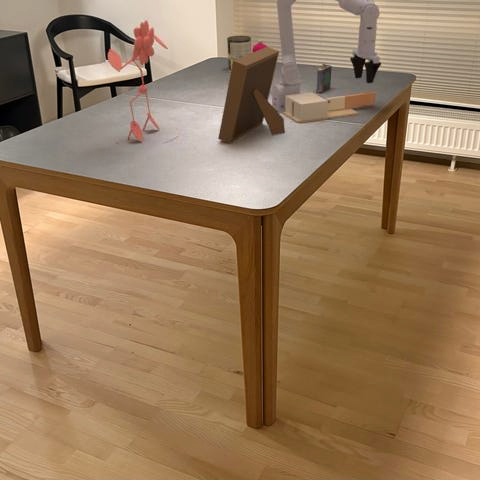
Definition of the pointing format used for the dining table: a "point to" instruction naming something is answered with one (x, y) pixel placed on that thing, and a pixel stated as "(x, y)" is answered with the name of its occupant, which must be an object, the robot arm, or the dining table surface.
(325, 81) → the flask
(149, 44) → the pink stick figure
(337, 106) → the long copper stick
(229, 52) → the coffee can
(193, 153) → the dining table surface
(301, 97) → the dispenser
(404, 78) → the dining table surface
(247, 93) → the photo frame
